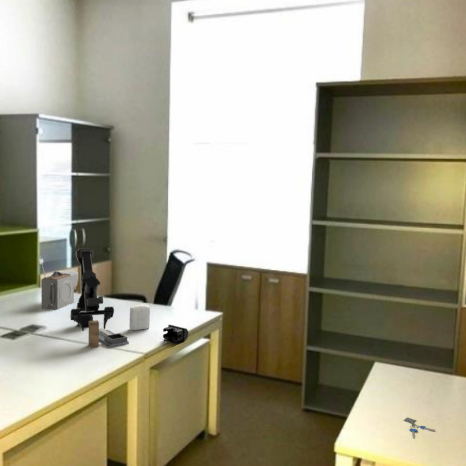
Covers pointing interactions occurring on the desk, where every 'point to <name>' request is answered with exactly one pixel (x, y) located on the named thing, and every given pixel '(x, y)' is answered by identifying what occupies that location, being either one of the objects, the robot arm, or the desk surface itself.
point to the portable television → (58, 289)
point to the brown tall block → (93, 333)
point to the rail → (112, 338)
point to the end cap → (175, 334)
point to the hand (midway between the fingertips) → (93, 329)
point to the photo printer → (139, 317)
